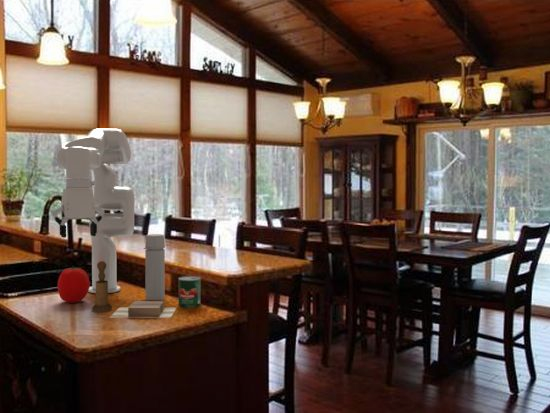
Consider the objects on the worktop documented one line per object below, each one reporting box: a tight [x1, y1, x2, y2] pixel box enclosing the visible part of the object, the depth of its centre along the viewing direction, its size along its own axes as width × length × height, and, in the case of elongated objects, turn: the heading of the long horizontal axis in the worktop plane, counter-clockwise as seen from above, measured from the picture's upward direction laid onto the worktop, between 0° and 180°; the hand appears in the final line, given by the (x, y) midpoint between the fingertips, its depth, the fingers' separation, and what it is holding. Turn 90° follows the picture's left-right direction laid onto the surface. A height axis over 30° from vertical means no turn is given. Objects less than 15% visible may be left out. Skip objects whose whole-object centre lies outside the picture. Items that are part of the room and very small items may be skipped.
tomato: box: [57, 266, 91, 304], centre depth 209 cm, size 12×12×13 cm
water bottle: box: [143, 233, 166, 301], centre depth 213 cm, size 9×8×25 cm
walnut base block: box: [128, 300, 165, 317], centre depth 190 cm, size 10×10×3 cm
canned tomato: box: [177, 275, 202, 309], centre depth 202 cm, size 8×8×11 cm
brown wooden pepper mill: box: [91, 261, 113, 314], centre depth 193 cm, size 7×6×18 cm
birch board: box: [108, 306, 177, 319], centre depth 191 cm, size 14×20×1 cm
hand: (78, 236), depth 186 cm, fingers open, 9 cm apart
